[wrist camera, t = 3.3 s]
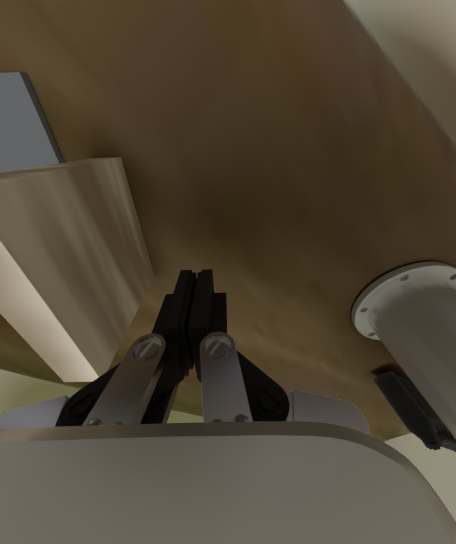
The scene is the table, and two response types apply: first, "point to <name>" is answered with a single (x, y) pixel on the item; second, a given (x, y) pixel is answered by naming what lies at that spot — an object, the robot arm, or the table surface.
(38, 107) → the mat
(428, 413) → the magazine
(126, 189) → the birch tile
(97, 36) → the table surface
